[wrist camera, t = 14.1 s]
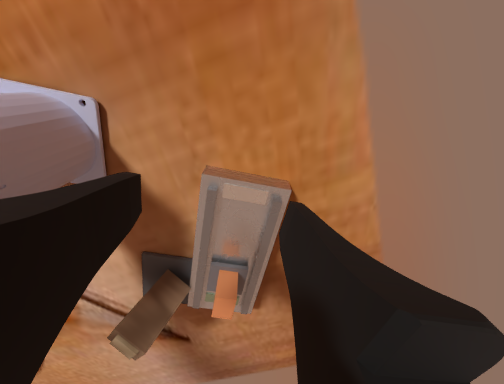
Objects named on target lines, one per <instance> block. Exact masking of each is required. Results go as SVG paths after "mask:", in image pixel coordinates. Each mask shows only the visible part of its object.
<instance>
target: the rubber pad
mask: <svg viewBox="0 0 504 384" xmlns="http://www.w3.org/2000/svg"><path fill="white" fill-rule="evenodd" d="M192 260H193V258H186V257H179V256H171V255H164V254H157V253H150V252H143V253H142V277H143V296H144V295H145V294H146V293H147V292H148V291H149V290H150V289H151V287H152V286H153V285H154V284H155V283H156V282H157V281H158V280H159V279H160V277H161V276H162V275H163V274H164V273H165V272H166V271H167V270H170V271H171V272H172V273H173V274H174V275H176V276H177V277H178V278H179V279H180V280H182V281H183V282H184V283H185V284H187V285H188V286H189V287H190V278H191V269H192ZM188 297H189V292H188V294H187V295H186V297H185V298H184V300H183V301H182V302H181V303H182V304H188Z"/></svg>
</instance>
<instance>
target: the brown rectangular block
mask: <svg viewBox="0 0 504 384" xmlns="http://www.w3.org/2000/svg"><path fill="white" fill-rule="evenodd" d="M190 290H191V288H190V287H189V286H188V285H187V284H185V283H184V282H183V281H182V280H180V279H179V278H178V277H177V276H176V275H174V274H173V273H172V272H171V271H170V270H167V271H166V272H165V273H164V274H163V275H162V276H161V277H160V279H159V280H158V281H157V282H156V283H155V284H154V285H153V286H152V287H151V289H150V290H149V291H148V292H147V293H146V294H145V295H144V296H143V297H142V299H141V300H140V301H139V302H138V303H137V304H136V305H135V306H134V308H133V309H132V310H131V311H130V312H129V313H128V314H127V315H126V316H125V318H124V319H123V320H122V321H121V322H120V323H119V324H118V325H117V326H116V328H115V329H114V330H113V331H112V332H111V334H110V335H109V336H108V337H107V338H108V339H109V340H110V341H111V343H110V344H111V345H112V346H113V347H115V348H116V349H117V350H118V351H120V352H121V353H122V354H123V355H125V356H126V357H127V358H128V359H131V358H133V359H134V360H137V359H138V358H140V357H141V356H143V355H144V354H146V352H147V351H148V349H149V348H150V347H151V345H152V344H153V342H154V341H155V339H156V338H157V337H158V335H159V334H160V332H161V331H162V330H163V328H164V327H165V325H166V324H167V322H168V321H169V320H170V318H171V317H172V315H173V314H174V312H175V311H176V310H177V308H178V307H179V305H180V304H181V302H182V301H183V300H184V298H185V297H186V295H187V294H188V292H189V291H190Z"/></svg>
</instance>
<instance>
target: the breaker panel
mask: <svg viewBox="0 0 504 384" xmlns="http://www.w3.org/2000/svg"><path fill="white" fill-rule="evenodd" d="M291 191H292V190H291V187H290V185H289V182H288V181H285V180H280V179H275V178H269V177H264V176H259V175H254V174H248V173H243V172H238V171H232V170H227V169H222V168H216V167H211V166H206V167H205V169H204V171H203V173H202V178H201V187H200V196H199V205H198V214H197V223H196V233H195V242H194V251H193V260H192V269H191V278H190V288H191V290H190V291H189V297H188V306H190V307H192V308H197V309H199V308H207V309H213V304H214V297H215V292H214V291H206V290H207V284H208V278H209V272H210V265H211V261H212V262H219V263H227V264H234V265H241V266H248V274H247V277H246V281H245V284H244V288H243V292H242V295H238V294H237V301H236V305H235V309H234V312H241V314H247V313H250V314H251V312H252V309H253V306H254V303H255V300H256V297H257V294H258V291H259V288H260V285H261V282H262V279H263V276H264V273H265V270H266V267H267V263H268V260H269V257H270V254H271V251H272V248H273V245H274V242H275V239H276V236H277V233H278V230H279V227H280V224H281V221H282V218H283V215H284V212H285V209H286V206H287V203H288V200H289V197H290V194H291Z"/></svg>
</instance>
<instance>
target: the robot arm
mask: <svg viewBox="0 0 504 384" xmlns="http://www.w3.org/2000/svg"><path fill="white" fill-rule="evenodd" d="M82 100H84V101H85V103H86V106H85V105H84V104H83V103H82ZM69 182H70V183H76V184H74V185H70V186H66V187H62V186H63V185H65V184H67V183H69ZM60 187H61V188H60ZM141 212H142V205H141V176H140V174H136V173H130V172H122V173H117V174H113V175H109V176H106V167H105V158H104V150H103V141H102V132H101V123H100V114H99V106H98V102H97V101H96V100H95V99H94V98H92V97H87V96H82V95H78V94H73V93H68V92H64V91H59V90H54V89H49V88H45V87H40V86H35V85H30V84H26V83H21V82H16V81H11V80H7V79H2V78H0V384H31V383H32V381H33V379H34V377H35V375H36V373H37V371H38V370H39V368H40V366H41V364H42V362H43V360H44V358H45V357H46V355H47V353H48V351H49V350H50V348H51V346H52V344H53V343H54V341H55V339H56V337H57V336H58V334H59V332H60V330H61V329H62V327H63V325H64V323H65V322H66V320H67V319H68V317H69V315H70V314H71V312H72V310H73V309H74V307H75V305H76V304H77V302H78V300H79V299H80V297H81V296H82V294H83V293H84V291H85V290H86V288H87V286H88V285H89V283H90V282H91V280H92V279H93V277H94V276H95V274H96V273H97V272H98V270H99V269H100V268H101V266H102V265H103V264H104V263H105V261H106V260H107V259H108V258H109V257H110V255H111V254H112V253H113V252H114V250H115V249H116V248H117V247H118V245H119V244H120V243H121V242H122V240H123V239H124V238H125V237H126V235H127V234H128V233H129V231H130V230H131V229H132V227H133V226H134V224H135V222H136V221H137V219H138V217H139V215H140V214H141ZM279 239H280V251H281V256H282V261H283V266H284V270H285V275H286V279H287V284H288V289H289V293H290V299H291V307H292V316H293V325H294V336H295V347H296V362H297V375H298V384H470V382H471V381H473V380H474V379H476V378H477V377H478V376H480V375H481V374H482V373H484V372H486V371H487V370H488V369H490V368H491V367H492V366H494V365H495V364H496V363H497V362H499V361H500V360H501V359H502V358H503V356H504V335H503V334H502V333H501V332H500V331H499V330H498V329H497V328H496V327H495V326H494V325H493V324H492V323H491V322H490V321H489V320H488V319H487V318H486V317H485V316H484V315H483V314H482V313H480V312H479V311H478V310H476V309H475V308H472V307H470V306H468V305H466V304H463V303H461V302H459V301H456V300H454V299H452V298H450V297H447V296H445V295H442V294H440V293H438V292H436V291H434V290H431V289H429V288H427V287H425V286H423V285H421V284H419V283H417V282H415V281H413V280H411V279H409V278H407V277H405V276H403V275H402V274H400V273H398V272H396V271H394V270H392V269H391V268H389V267H387V266H386V265H384V264H382V263H380V262H379V261H377V260H375V259H374V258H372V257H370V256H369V255H367V254H366V253H364V252H363V251H361V250H360V249H358V248H357V247H355V246H354V245H353V244H351V243H350V242H348V241H347V240H346V239H345V238H343V237H342V236H341V235H339V234H338V233H337V232H336V231H334V230H333V229H332V228H331V227H330V226H328V225H327V224H326V223H325V222H324V221H323V220H321V219H320V218H319V217H318V216H317V215H316V214H315V213H314V212H312V211H311V210H310V209H309V208H308V207H306V206H305V205H304V204H302V203H298V202H293V201H290V203H289V206H288V209H287V212H286V215H285V218H284V221H283V224H282V226H281V229H280V232H279Z"/></svg>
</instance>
